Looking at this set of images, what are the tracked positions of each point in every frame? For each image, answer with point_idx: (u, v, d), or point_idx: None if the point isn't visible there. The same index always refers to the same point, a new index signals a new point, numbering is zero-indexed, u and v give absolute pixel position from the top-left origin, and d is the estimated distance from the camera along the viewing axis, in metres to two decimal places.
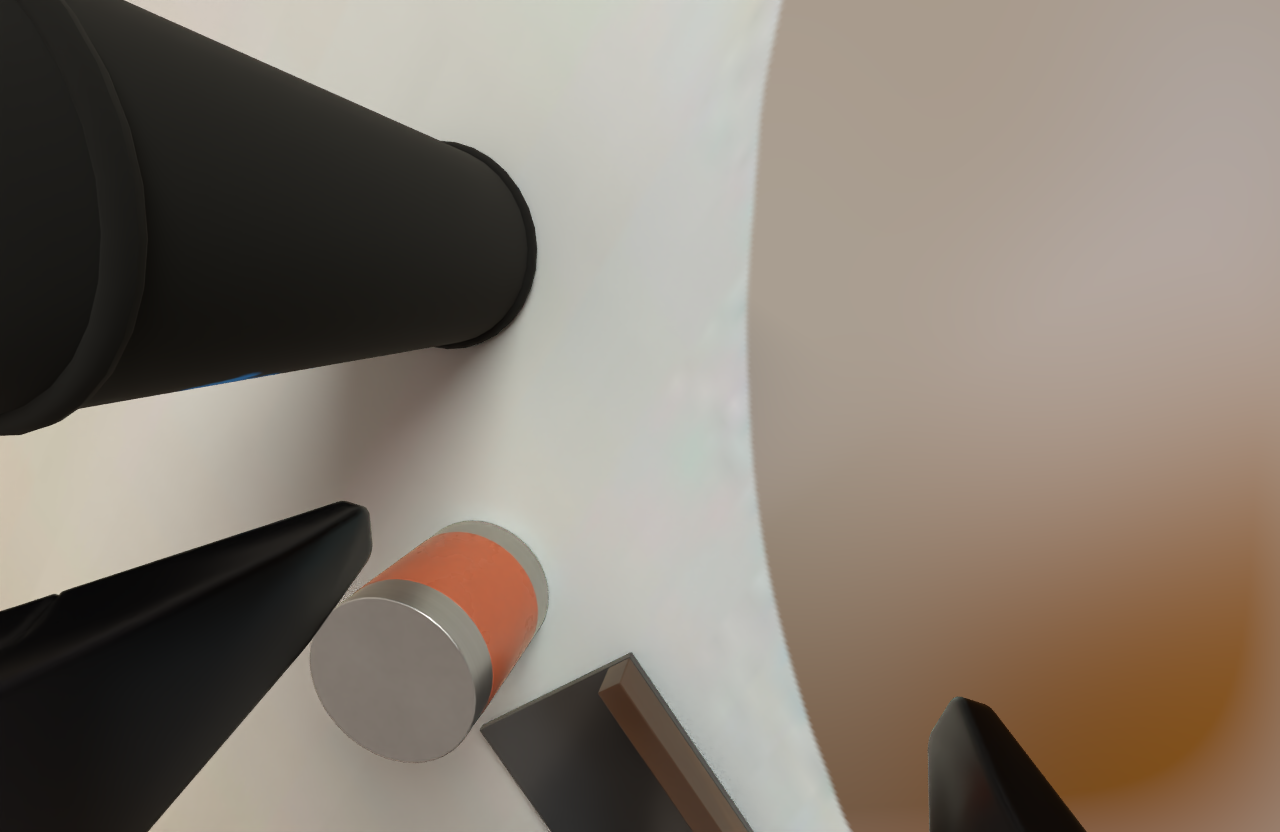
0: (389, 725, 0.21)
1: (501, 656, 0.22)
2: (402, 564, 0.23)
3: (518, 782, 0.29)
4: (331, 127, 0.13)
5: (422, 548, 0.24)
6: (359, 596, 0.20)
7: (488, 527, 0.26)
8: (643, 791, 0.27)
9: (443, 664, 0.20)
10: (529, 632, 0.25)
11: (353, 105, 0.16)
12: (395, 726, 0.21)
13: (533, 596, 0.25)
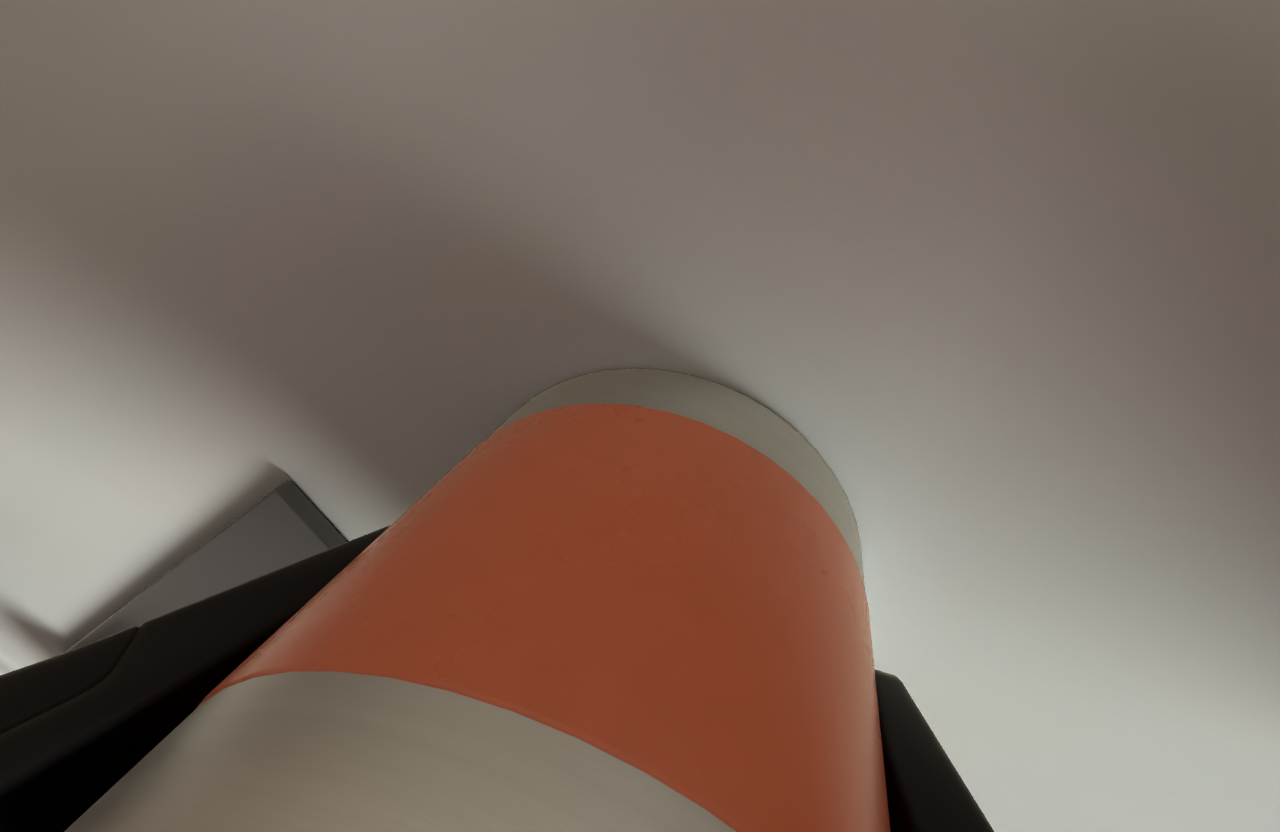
0: None
1: None
2: None
3: (205, 550, 0.13)
4: None
5: (873, 682, 0.06)
6: None
7: None
8: None
9: None
10: None
11: None
12: None
13: None
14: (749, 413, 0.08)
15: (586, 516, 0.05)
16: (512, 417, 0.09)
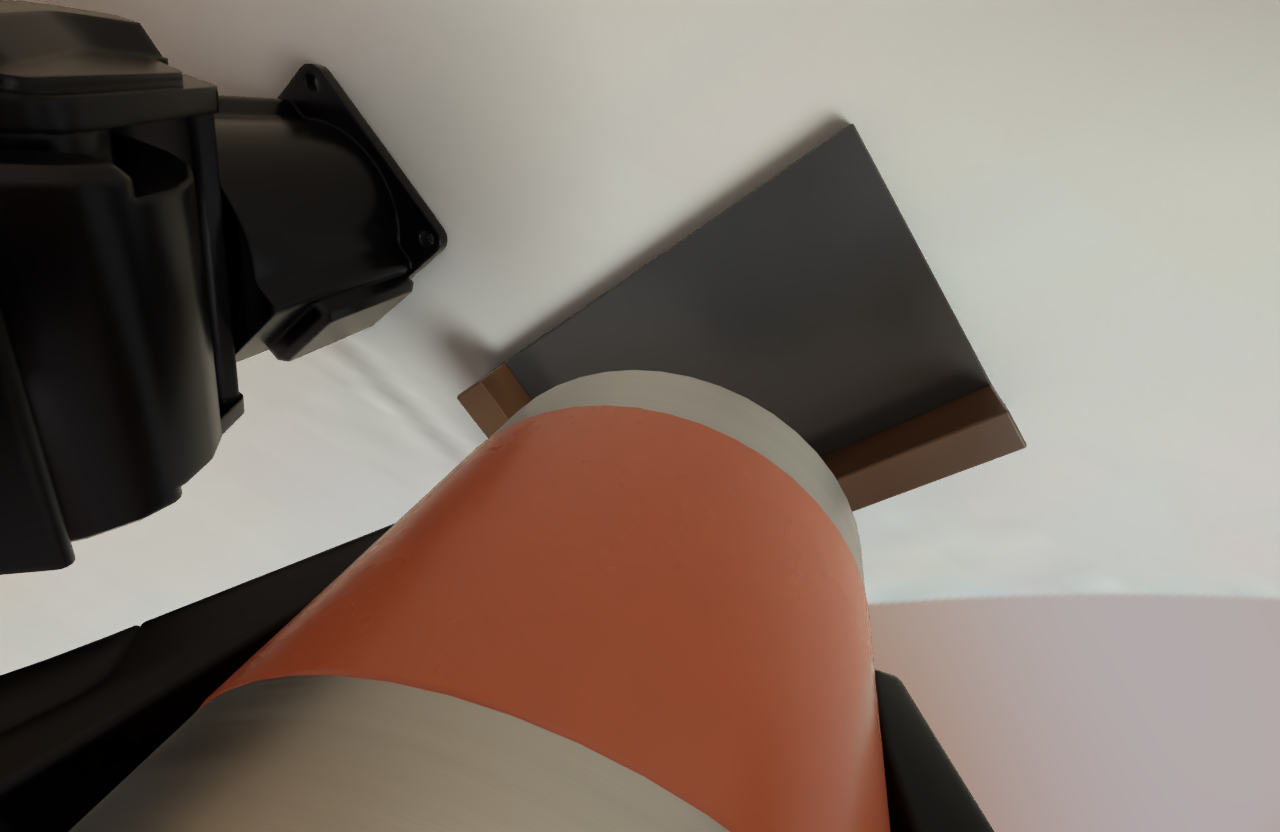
0: None
1: None
2: None
3: (742, 204, 0.16)
4: None
5: (873, 684, 0.06)
6: None
7: None
8: None
9: None
10: None
11: None
12: None
13: None
14: (749, 415, 0.08)
15: (584, 518, 0.05)
16: (512, 419, 0.09)
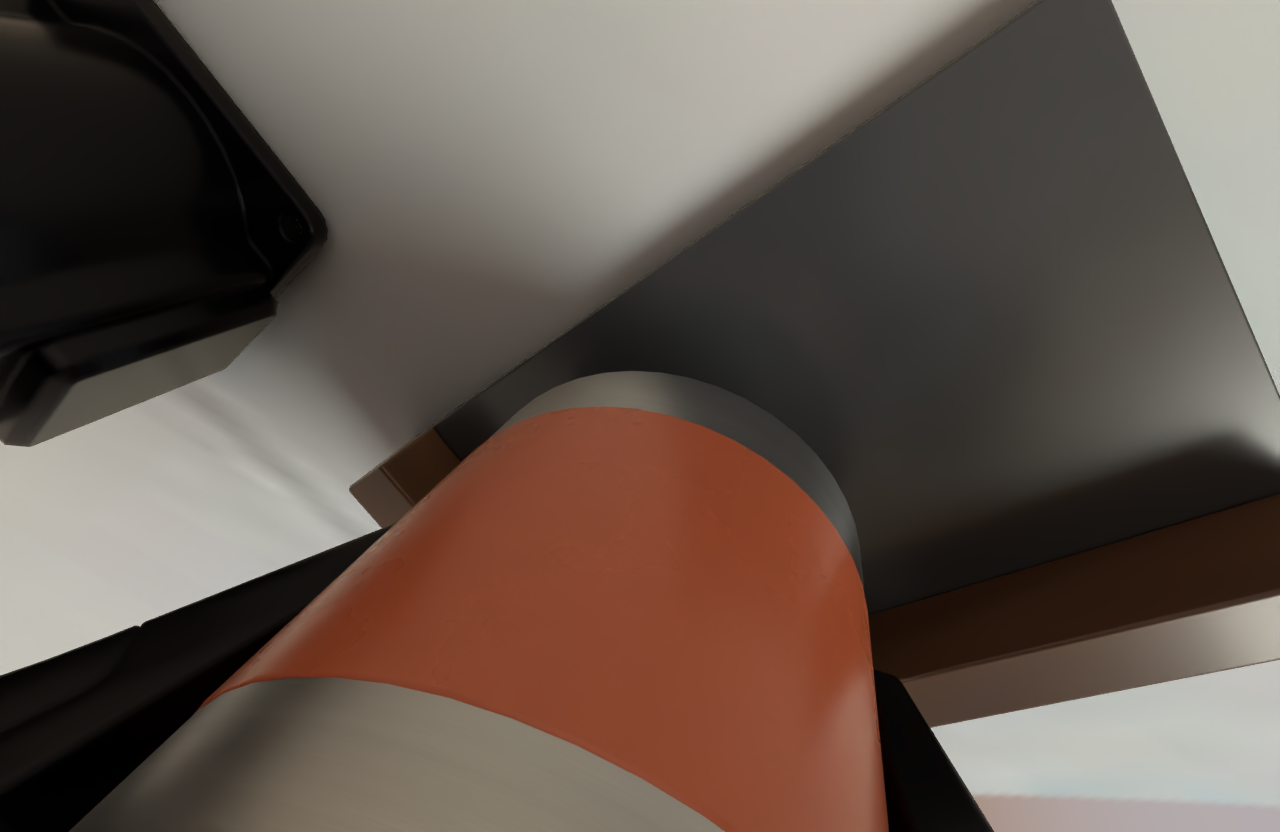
0: None
1: None
2: None
3: (845, 148, 0.08)
4: None
5: (872, 686, 0.06)
6: None
7: None
8: None
9: None
10: None
11: None
12: None
13: None
14: (749, 416, 0.08)
15: (584, 520, 0.05)
16: (511, 420, 0.09)
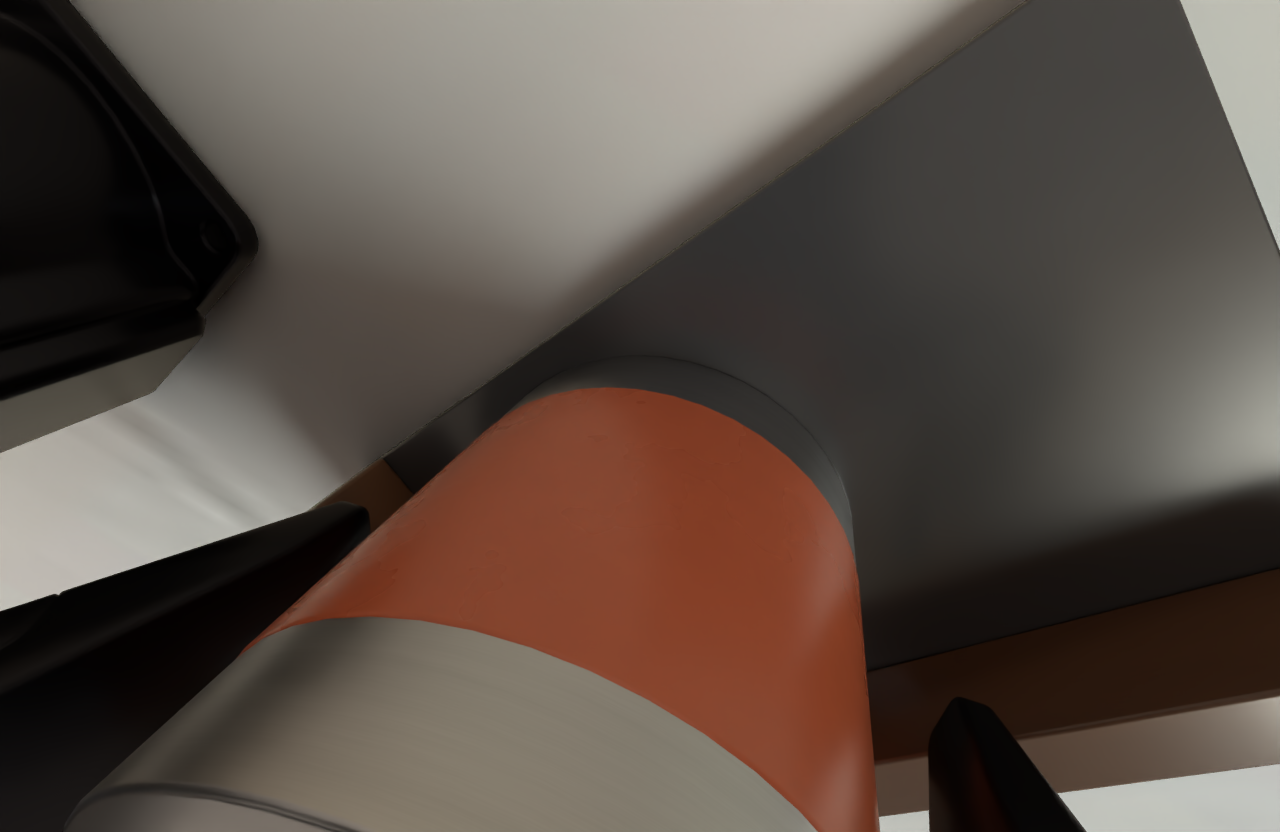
0: None
1: None
2: (872, 777, 0.05)
3: (840, 145, 0.07)
4: None
5: (861, 646, 0.07)
6: None
7: None
8: None
9: None
10: None
11: None
12: None
13: None
14: (746, 397, 0.08)
15: (593, 485, 0.06)
16: (520, 402, 0.09)
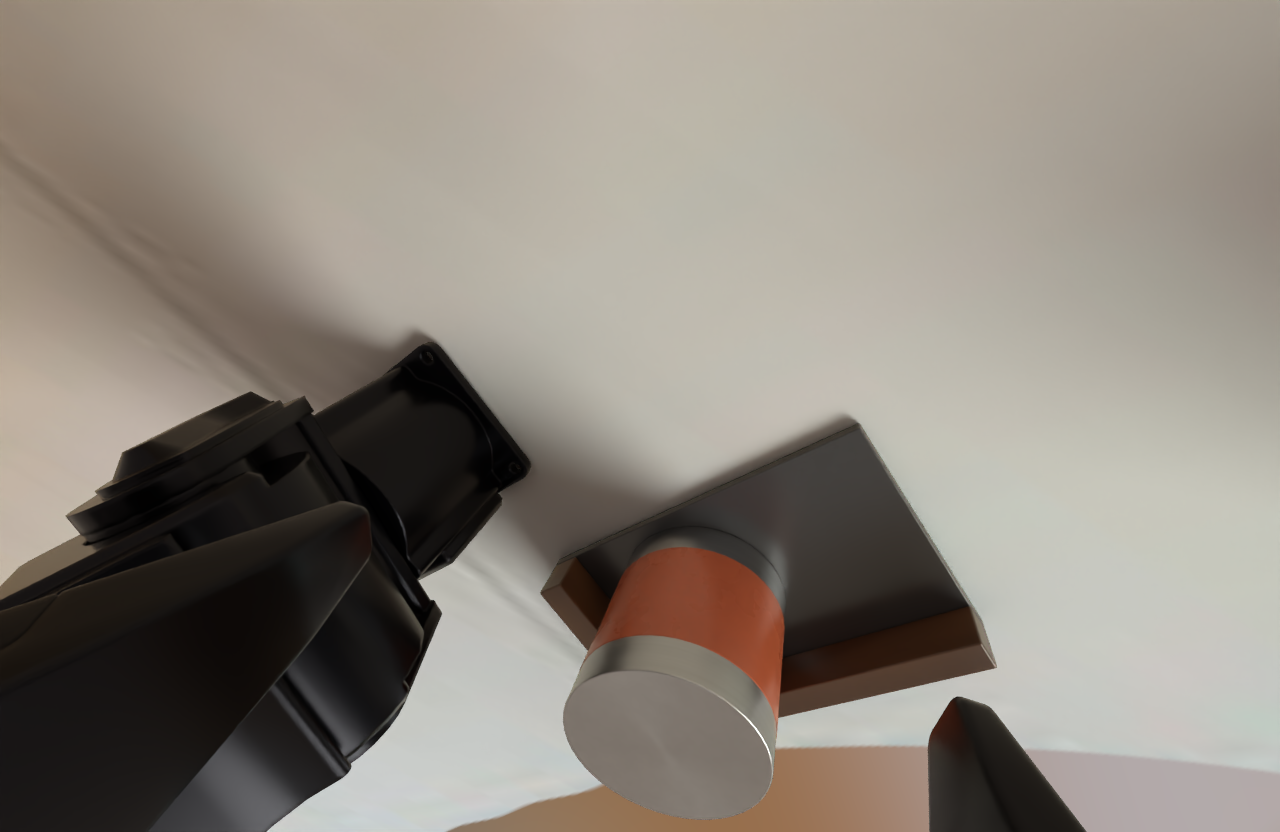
0: (607, 732, 0.18)
1: None
2: (777, 680, 0.19)
3: (774, 470, 0.21)
4: None
5: (779, 643, 0.20)
6: (770, 746, 0.17)
7: None
8: (785, 609, 0.23)
9: (696, 802, 0.19)
10: None
11: None
12: (608, 738, 0.18)
13: None
14: (741, 548, 0.22)
15: (695, 595, 0.19)
16: (651, 545, 0.23)
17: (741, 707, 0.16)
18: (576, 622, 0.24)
